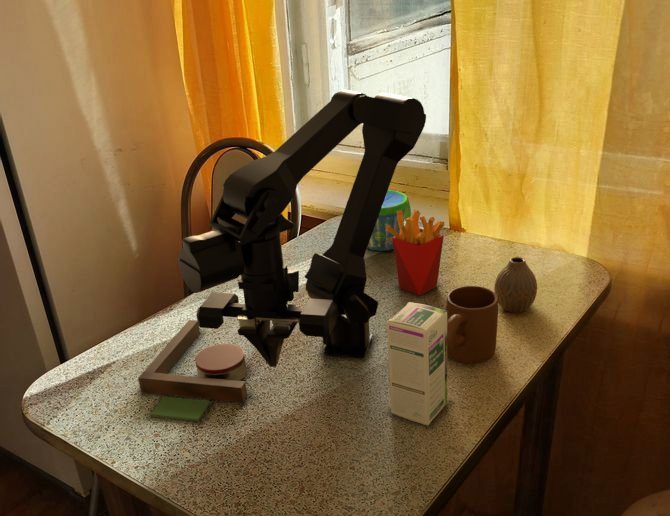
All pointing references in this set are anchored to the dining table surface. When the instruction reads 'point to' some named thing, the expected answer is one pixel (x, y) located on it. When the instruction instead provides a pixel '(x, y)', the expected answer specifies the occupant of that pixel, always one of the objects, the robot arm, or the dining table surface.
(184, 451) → the dining table surface
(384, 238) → the snack cup
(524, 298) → the vase
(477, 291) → the mug
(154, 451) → the dining table surface
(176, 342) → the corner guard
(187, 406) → the green rag
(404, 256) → the french fries
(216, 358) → the tin
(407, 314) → the syrup box
